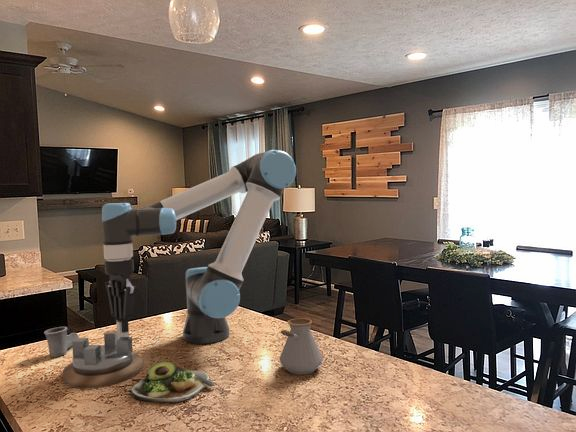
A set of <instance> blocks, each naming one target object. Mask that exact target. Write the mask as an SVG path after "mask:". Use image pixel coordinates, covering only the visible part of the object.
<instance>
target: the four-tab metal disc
mask: <svg viewBox="0 0 576 432" xmlns="http://www.w3.org/2000/svg"><path fill="white" fill-rule="evenodd" d="M89 339H90V338H89V337H79V338H77V339H75V340H74V341H72V347H71V348H72V362H73V371H74V372H75V373H77V374H81V375H101V374H107V373H111V372H115V371H118V370H121V369H123V368H125V367H127V366H129V365H130V364H131V363H132V361H133V353H134V352H133V350H134V349H133V337H132V336H129V337H121V338H119V339H118V340H117V329H116V330H115V329H112V330H107V331H106V332H105V333H104V334H103V340H104V345H103V344H102V345H101V344H90V343H89V342H90V341H89Z"/></svg>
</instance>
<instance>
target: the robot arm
mask: <svg viewBox="0 0 576 432" xmlns="http://www.w3.org/2000/svg"><path fill="white" fill-rule="evenodd" d="M296 167H297V166H296V164H295V160H294V159H293V157H292V156H291V155H290V154H289V153H288V152H286V151H283V150H280V149H279V150H278V149H270V150H267V151H265V152H259V153H255V154H254V155H252V156H250V157H249V158H247V159H245V160H243V161H242V162H239V163H238V164H236V165H233V166H231V167H230V170H229V171H227V172H225V173H223V174H221V175H218V176H216V177H214V178H210V179H208V180H206V181H204V182H201V183H200V184H197V185H195V186H192V187H190V188H188V189H185V190H183V191H181V192H178V193H176V194H173V195H171V196H169V197H167V198H164V199H162V200H160V201H158V202H155V203H152V204H150V205H148V206H143V207H141V208H139V209H137V208H136V209H134V208H132V206H131V203H129V202H114V203H113V202H112V203H104V204H103V205H102V207H101V224H102V227H101V228H102V238H103V239H102V240H103V258H104V273H105V275H107V276H109V281H106V282H104V284H105V288H106V291H107V296H108V297H107V299H108V303H109V309H110V314H111V317H112V318H113V317H114V320H115V321H116V330H117V340H118V339H119V338H121V337H130V335H129V334H130V328H129V321H130V320H131V319H133V318H134V308H135V297H136V292H137V286H136V285H132V283H131V282H132V279H131V274H132V273H133V272H134V270H135V264H134V259H133V258H132V257H134V251H133V250H134V246H133V237H140V236H141V237H142V236H143V237H145V236H159V235H160V236H164V235H165V236H166V235H172V234H174V233H175V232H176V229H177V221H178V220H180V219H183V218H185V217H186V216H189V215H191V214H193V213H196V212H198V211H200V210H202V209H204V208H207V207H209V206H211V205H213V204H216V203H218V202H220V201H222V200H224V199H227V198H229V197H232V196H234V195H237V194H238V193H240V194H245V196H244V199H243V201H242V202H241V205H240V207H239V209H238V212H237V213H236V217H235V218H234V221H233V223H232V224H231V227H230V229H229V231H228V233H227V235H226V238H225V240H224V242H223V245H222V246H221V248H220V251H219V253H218V255H217V258H216V259H215V261H213V262H212V263H209V264H208V265H207V266H202V267H193V268H188V269H187V270H186V271H185V279H184V280H185V289H186V291H185V292H186V306H187V307H186V311H187V314H186V315H187V316H186V319H185V323H184V326H183V330H182V340H183V341H184V342H186V343H190V344H198V345H199V344H202V345H203V344H212V343H217V342H221V341H224V340H225V339H227V338H228V337H229V336H230V326H229V324H228V321H227V318H226V317H228V316H230V315H231V314H233V313H234V312H235V311H236V310H237V309H238V307H239V305H240V300H241V293H240V289H241V287H242V285H243V283H244V277H243V274H242V272H243V270H244V268H245V266H246V264H247V261H248V259H249V257H250V254H251V252H252V250H253V247H254V246H255V244H256V241H257V239H258V236H259V234H260V232H261V230H262V228H263V226H264V223H265V221H266V219H267V217H268V215H269V212H270V210H271V208H272V206H273V204H274V202H276V201H279V200H280V199H281V198H282V195H283V194H284V191H285V188H288V187H289V186H290V185H291V184H292V183H294V181H295V178H296V176H297V175H296V174H297V168H296Z"/></svg>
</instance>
